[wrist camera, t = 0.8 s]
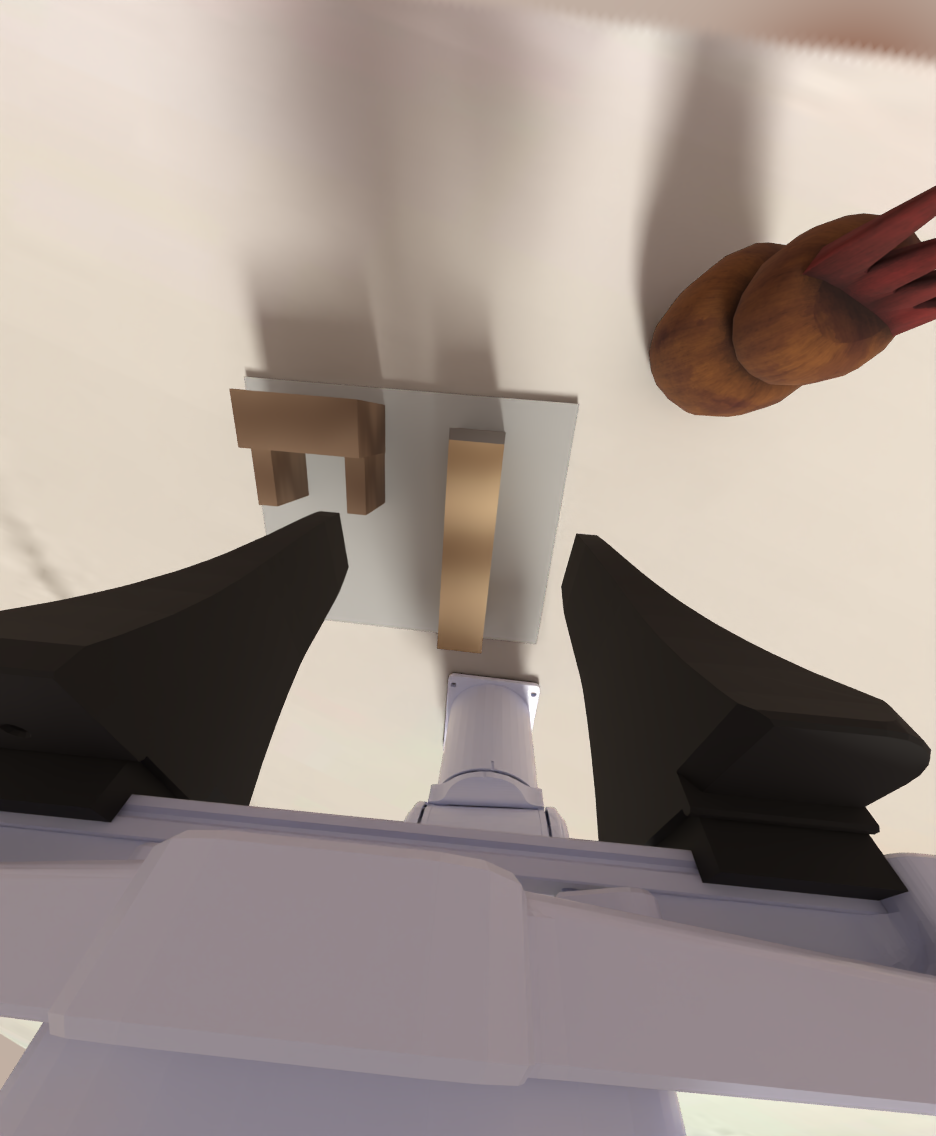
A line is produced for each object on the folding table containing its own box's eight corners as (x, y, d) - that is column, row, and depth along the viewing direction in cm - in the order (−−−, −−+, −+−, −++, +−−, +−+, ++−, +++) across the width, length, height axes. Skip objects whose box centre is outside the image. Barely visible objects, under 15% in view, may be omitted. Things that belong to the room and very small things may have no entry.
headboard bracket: (385, 502, 26) (360, 519, 21) (292, 493, 26) (248, 507, 21) (385, 405, 23) (356, 399, 19) (282, 396, 24) (229, 388, 19)
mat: (535, 641, 29) (536, 644, 29) (279, 612, 30) (277, 614, 30) (577, 404, 23) (579, 404, 22) (248, 377, 24) (243, 376, 23)
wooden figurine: (615, 344, 21) (831, 187, 7) (707, 266, 20) (1208, -122, 6) (670, 436, 23) (933, 449, 9) (760, 372, 21) (1252, 266, 7)
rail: (484, 616, 29) (481, 653, 24) (447, 612, 29) (437, 648, 24) (504, 431, 23) (505, 432, 19) (459, 427, 23) (449, 427, 19)
